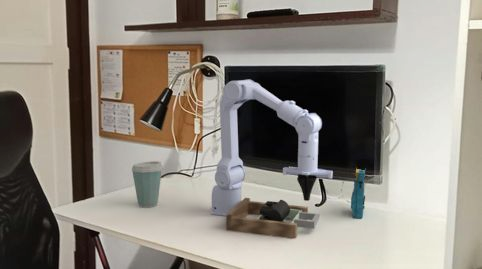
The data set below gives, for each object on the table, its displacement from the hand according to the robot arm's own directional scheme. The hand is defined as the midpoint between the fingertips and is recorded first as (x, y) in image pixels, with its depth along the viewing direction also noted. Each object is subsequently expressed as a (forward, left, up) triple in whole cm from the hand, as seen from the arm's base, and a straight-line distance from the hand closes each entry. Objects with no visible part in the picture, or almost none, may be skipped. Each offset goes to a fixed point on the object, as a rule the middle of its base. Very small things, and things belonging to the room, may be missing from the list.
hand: (306, 199), depth 151 cm
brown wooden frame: (-13, 0, -9) cm, 16 cm away
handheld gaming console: (+13, +19, -9) cm, 25 cm away
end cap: (-10, 0, -9) cm, 14 cm away
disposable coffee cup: (-57, +6, -9) cm, 58 cm away
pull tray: (-5, 0, -9) cm, 10 cm away
